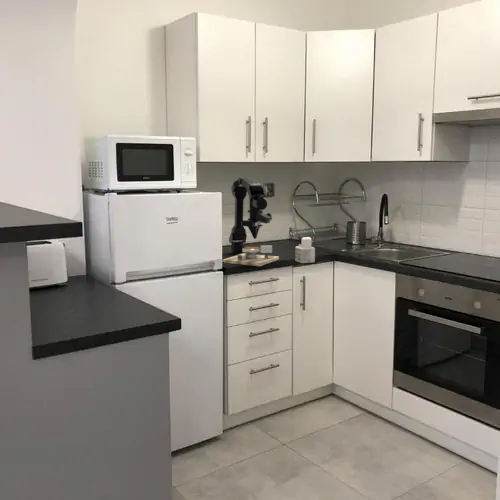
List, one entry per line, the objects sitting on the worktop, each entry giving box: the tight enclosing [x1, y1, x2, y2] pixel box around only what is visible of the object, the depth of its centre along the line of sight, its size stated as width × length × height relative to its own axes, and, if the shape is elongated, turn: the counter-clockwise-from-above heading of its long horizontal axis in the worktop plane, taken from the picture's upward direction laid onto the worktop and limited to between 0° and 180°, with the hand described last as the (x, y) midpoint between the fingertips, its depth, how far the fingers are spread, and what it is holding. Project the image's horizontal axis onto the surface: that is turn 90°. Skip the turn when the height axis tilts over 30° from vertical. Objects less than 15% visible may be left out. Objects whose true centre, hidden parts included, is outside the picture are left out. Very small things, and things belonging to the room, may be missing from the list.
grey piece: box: [242, 244, 273, 254], centre depth 290 cm, size 16×9×4 cm, turn 89°
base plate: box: [222, 252, 280, 267], centre depth 291 cm, size 22×22×5 cm
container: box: [294, 236, 316, 264], centre depth 288 cm, size 8×8×13 cm
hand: (255, 238), depth 285 cm, fingers closed
